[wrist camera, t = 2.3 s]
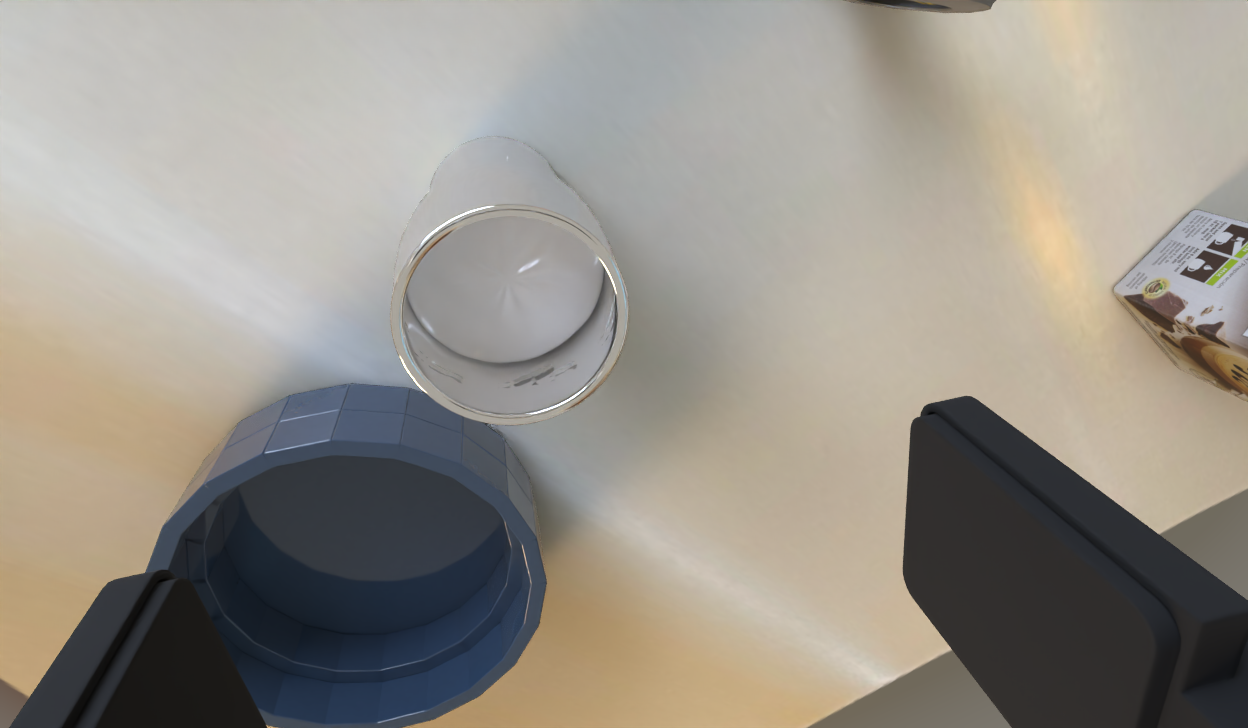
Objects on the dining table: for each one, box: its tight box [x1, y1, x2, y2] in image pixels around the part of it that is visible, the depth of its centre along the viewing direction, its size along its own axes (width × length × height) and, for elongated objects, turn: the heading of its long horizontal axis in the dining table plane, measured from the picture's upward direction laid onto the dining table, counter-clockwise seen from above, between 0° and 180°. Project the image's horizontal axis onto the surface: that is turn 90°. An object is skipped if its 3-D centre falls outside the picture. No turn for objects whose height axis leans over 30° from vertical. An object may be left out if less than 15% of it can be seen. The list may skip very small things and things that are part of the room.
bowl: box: [145, 383, 547, 728], centre depth 36 cm, size 18×18×6 cm
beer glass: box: [390, 136, 629, 425], centre depth 26 cm, size 7×7×15 cm
